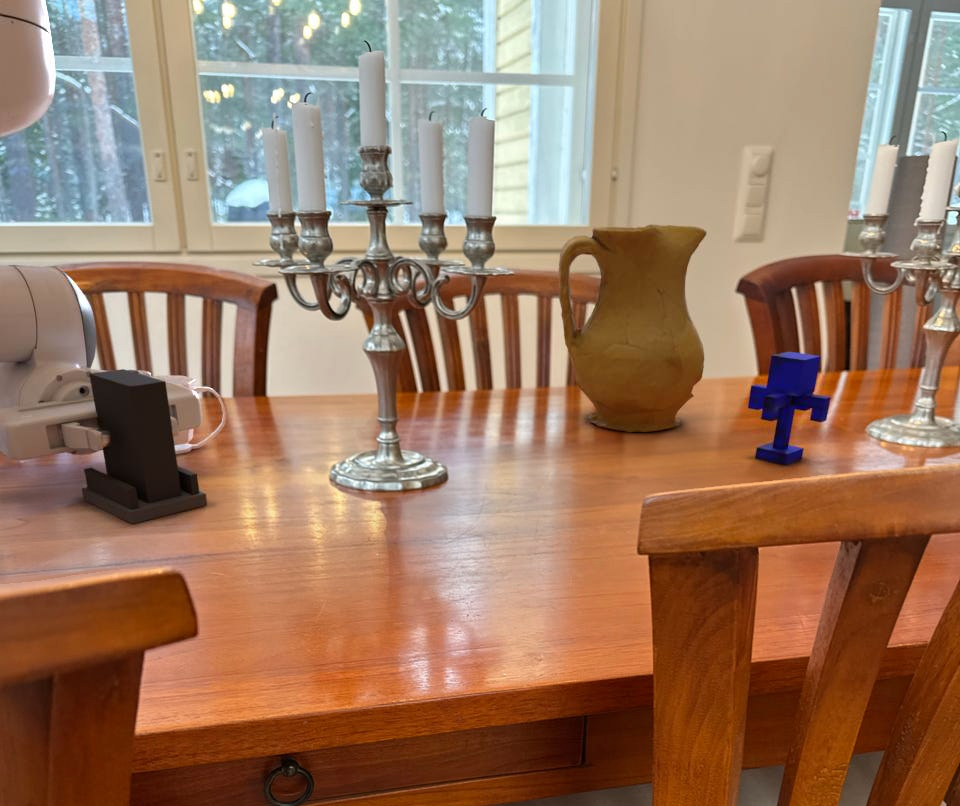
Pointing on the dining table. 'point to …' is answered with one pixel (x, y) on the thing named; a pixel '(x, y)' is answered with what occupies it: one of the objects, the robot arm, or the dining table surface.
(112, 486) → the base pad
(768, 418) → the figurine
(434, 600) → the dining table surface
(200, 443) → the cup
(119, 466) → the upright pad
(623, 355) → the pitcher
